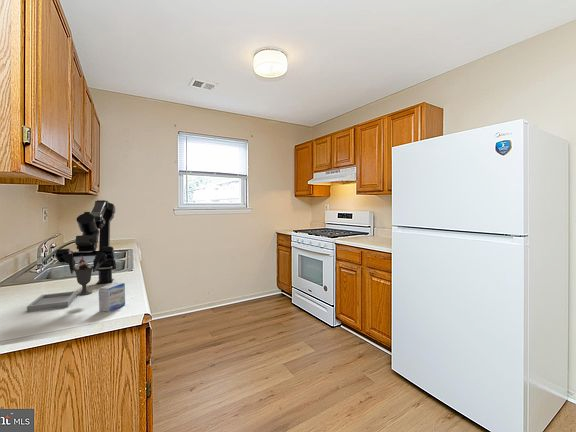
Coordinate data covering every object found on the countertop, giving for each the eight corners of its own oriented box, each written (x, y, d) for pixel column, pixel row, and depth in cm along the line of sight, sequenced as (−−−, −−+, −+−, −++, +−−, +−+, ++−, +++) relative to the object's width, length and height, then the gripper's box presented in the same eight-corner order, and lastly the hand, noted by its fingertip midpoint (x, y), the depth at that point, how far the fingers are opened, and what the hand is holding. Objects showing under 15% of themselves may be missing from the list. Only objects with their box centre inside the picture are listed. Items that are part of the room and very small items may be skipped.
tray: (41, 299, 117) (41, 294, 117) (77, 295, 122) (77, 290, 122) (27, 311, 103) (26, 306, 103) (68, 306, 108) (67, 301, 108)
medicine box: (109, 312, 103) (108, 288, 102) (98, 311, 104) (98, 287, 103) (125, 304, 111) (125, 282, 110) (115, 304, 111) (115, 282, 111)
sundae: (82, 291, 113) (81, 253, 112) (98, 291, 112) (97, 253, 112) (68, 296, 106) (67, 256, 105) (86, 296, 106) (85, 256, 105)
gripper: (55, 228, 108) (45, 262, 98) (112, 226, 115) (107, 258, 106) (63, 245, 116) (54, 279, 106) (116, 243, 123) (112, 274, 113)
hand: (82, 272), depth 108 cm, fingers closed on sundae, 6 cm apart
